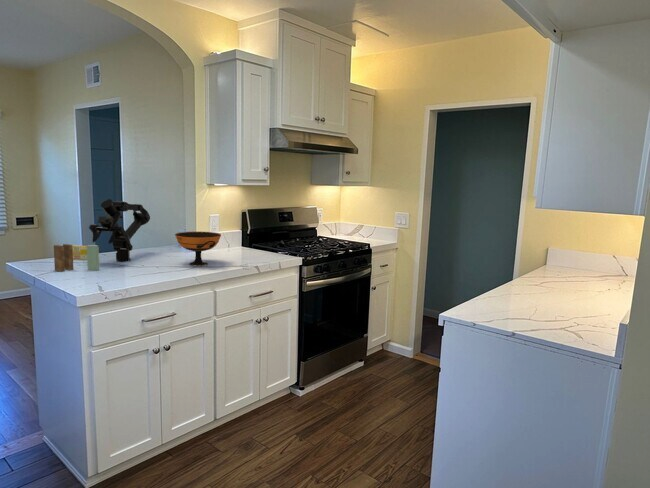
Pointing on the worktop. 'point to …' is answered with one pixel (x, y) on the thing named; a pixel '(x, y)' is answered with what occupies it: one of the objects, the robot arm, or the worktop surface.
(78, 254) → the candy box
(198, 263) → the cup
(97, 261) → the green domino
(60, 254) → the walnut domino end
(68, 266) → the walnut domino middle
